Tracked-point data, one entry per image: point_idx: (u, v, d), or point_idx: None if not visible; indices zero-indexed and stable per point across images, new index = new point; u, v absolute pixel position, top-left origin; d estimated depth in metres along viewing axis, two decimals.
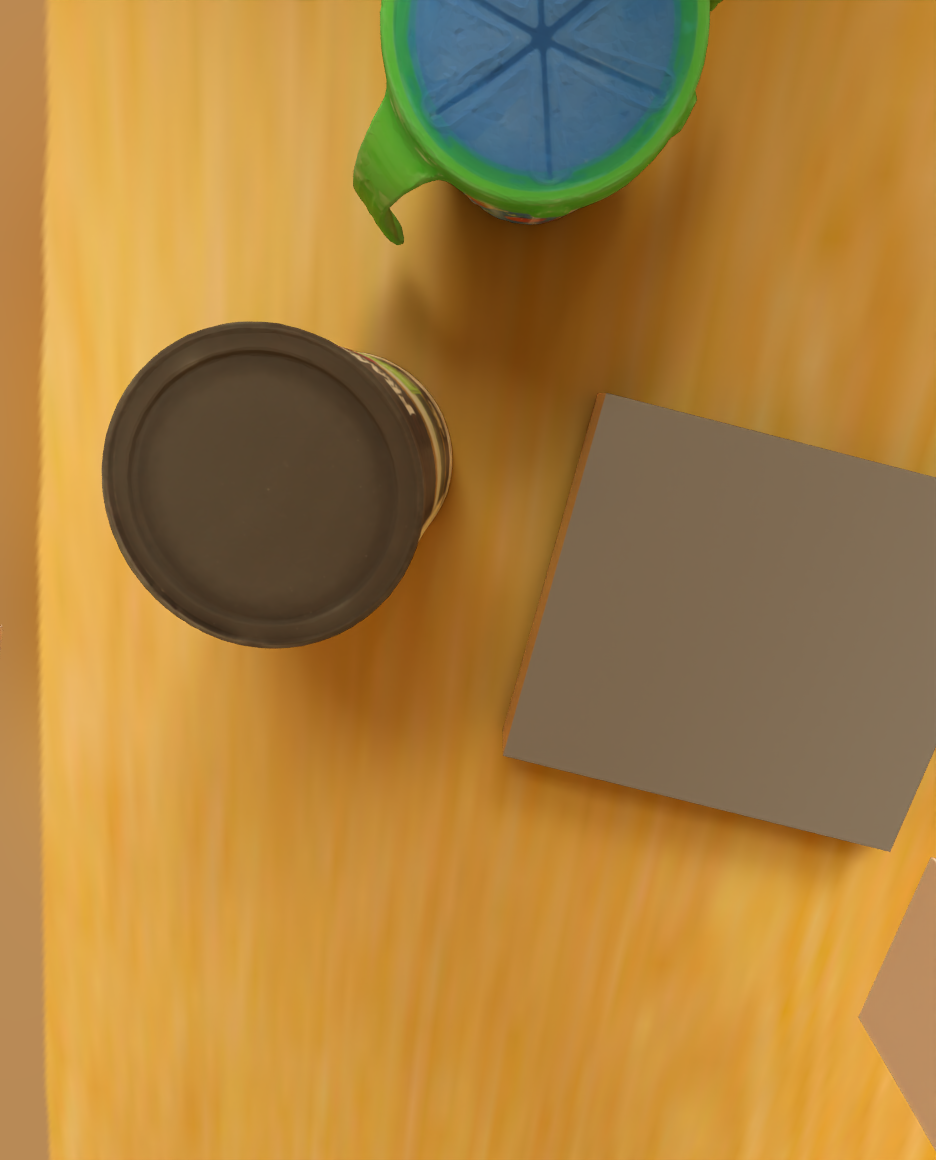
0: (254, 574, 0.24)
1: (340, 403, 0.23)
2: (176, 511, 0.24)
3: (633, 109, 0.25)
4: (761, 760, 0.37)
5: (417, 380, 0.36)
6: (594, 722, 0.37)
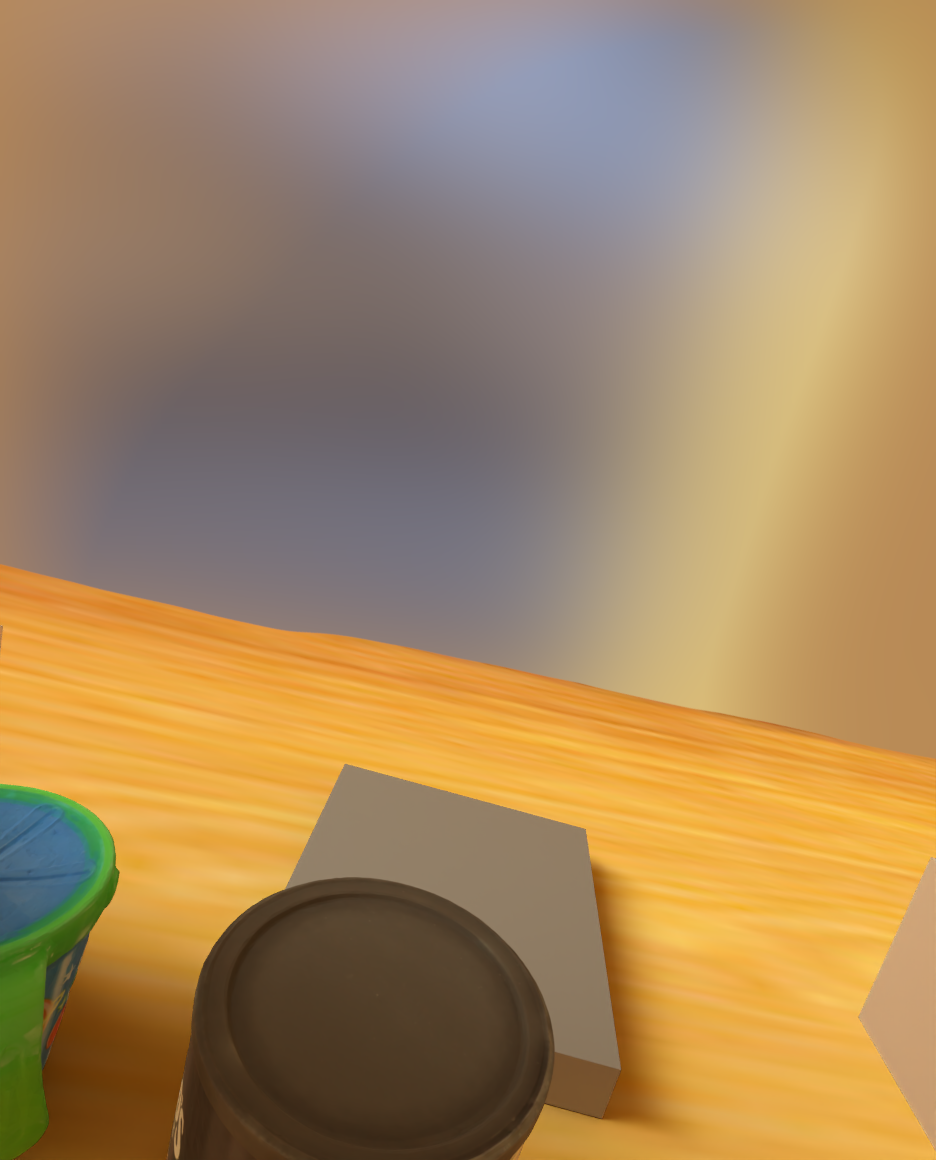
0: (471, 1018, 0.22)
1: (290, 926, 0.23)
2: (411, 1093, 0.19)
3: (54, 827, 0.31)
4: (548, 885, 0.47)
5: None
6: (557, 990, 0.39)
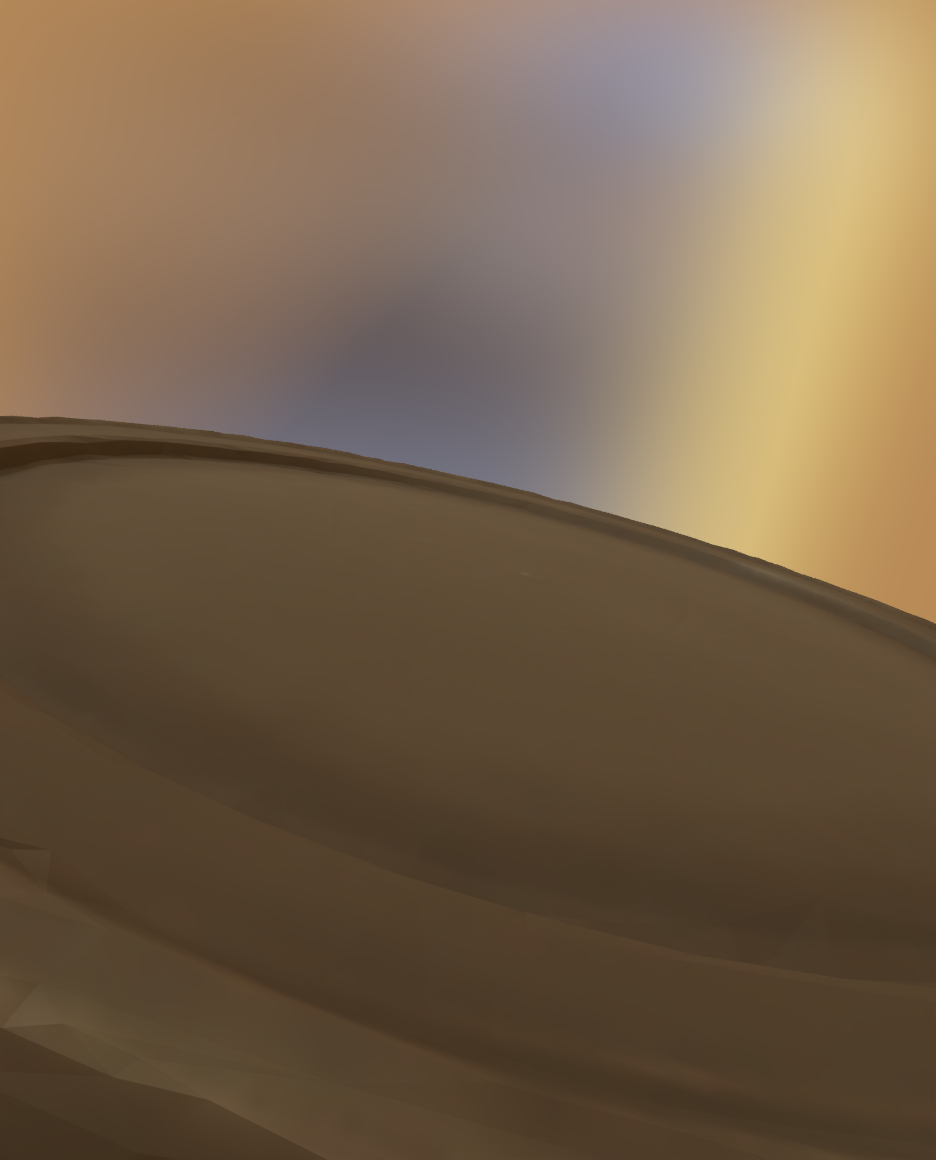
0: (841, 650, 0.07)
1: (234, 466, 0.08)
2: (823, 767, 0.04)
3: None
4: None
5: None
6: None
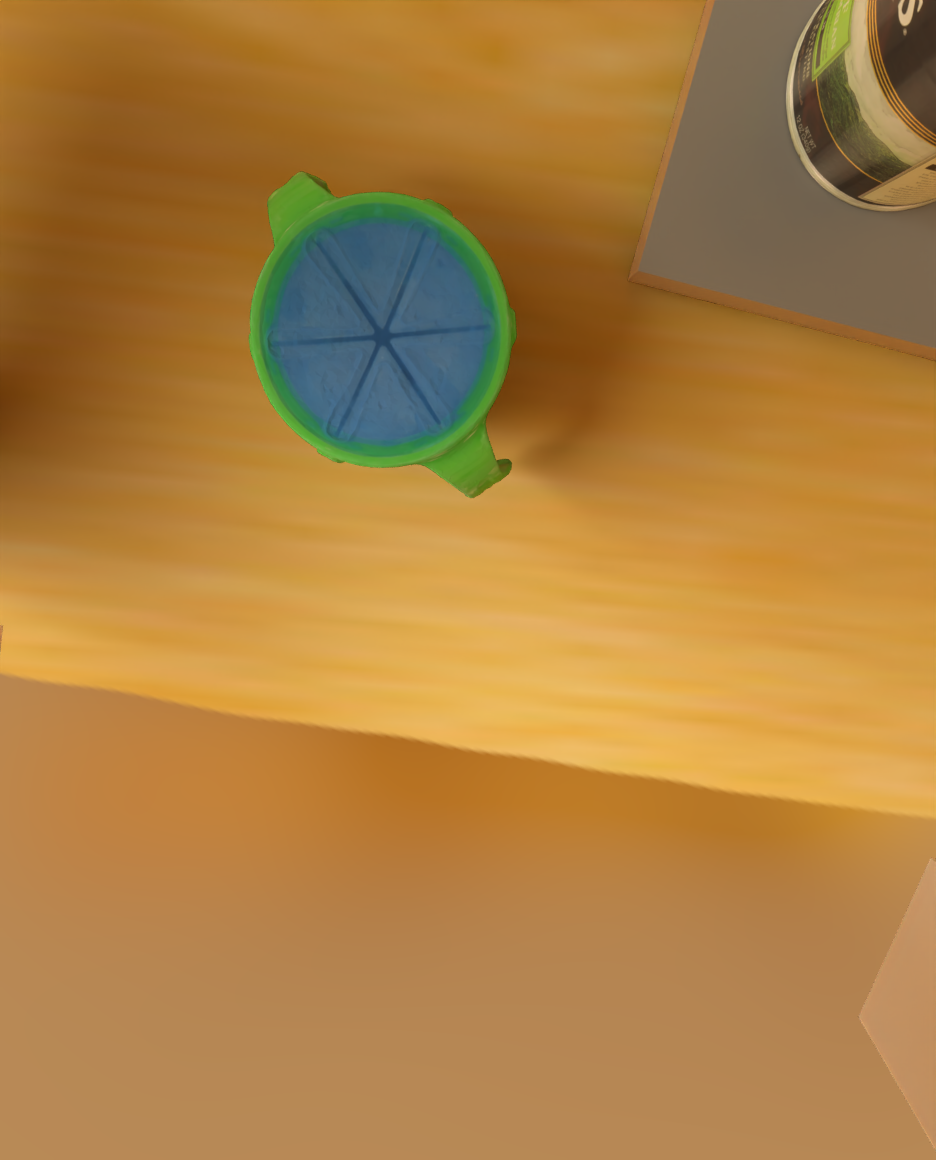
0: None
1: None
2: None
3: (436, 254, 0.29)
4: None
5: None
6: None
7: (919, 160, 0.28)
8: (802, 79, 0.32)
